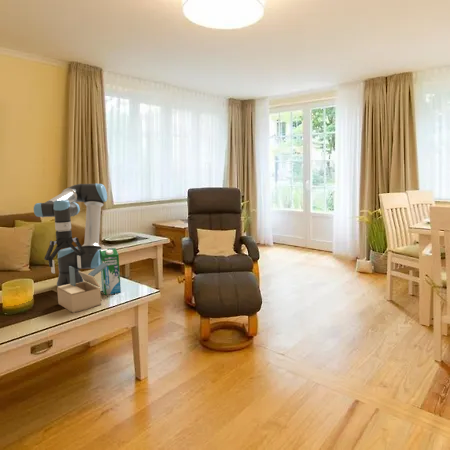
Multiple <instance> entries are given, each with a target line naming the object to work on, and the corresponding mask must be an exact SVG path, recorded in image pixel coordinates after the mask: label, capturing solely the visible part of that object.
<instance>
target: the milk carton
mask: <svg viewBox="0 0 450 450" xmlns="http://www.w3.org/2000/svg"><path fill="white" fill-rule="evenodd" d="M119 257H120V256H119V252H118V250H117V248H116V247H110V248H101V249H100V265H101V264H102V263H105V264H108V266H107V267H106V268H104V269H103V270H102V271H100V278H101V291H102V292H103V294H104V295H105V296H106V295H112V294H120V293H121V292H122V290H121V289H122V287H121V275H120V274H121V273H120V271H121V270H120V258H119Z"/></svg>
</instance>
